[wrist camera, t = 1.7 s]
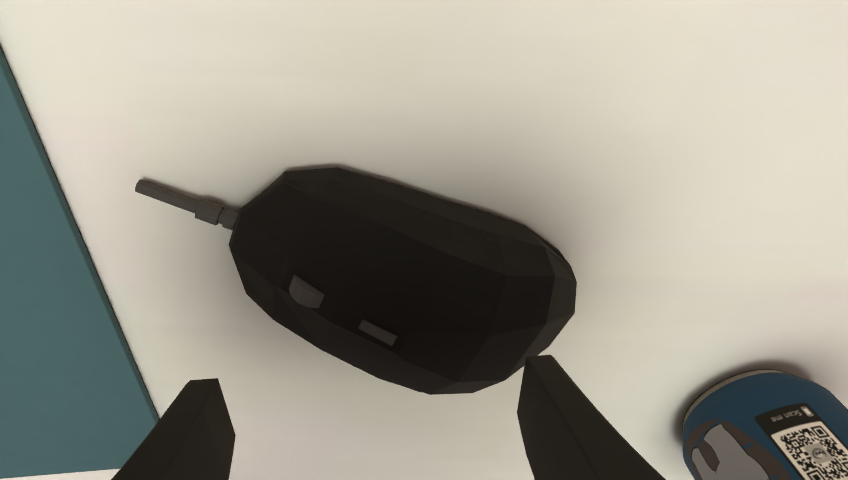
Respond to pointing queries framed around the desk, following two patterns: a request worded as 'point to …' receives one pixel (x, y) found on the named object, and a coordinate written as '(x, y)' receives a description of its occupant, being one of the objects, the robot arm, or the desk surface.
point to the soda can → (766, 430)
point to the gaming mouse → (395, 277)
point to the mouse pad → (56, 325)
